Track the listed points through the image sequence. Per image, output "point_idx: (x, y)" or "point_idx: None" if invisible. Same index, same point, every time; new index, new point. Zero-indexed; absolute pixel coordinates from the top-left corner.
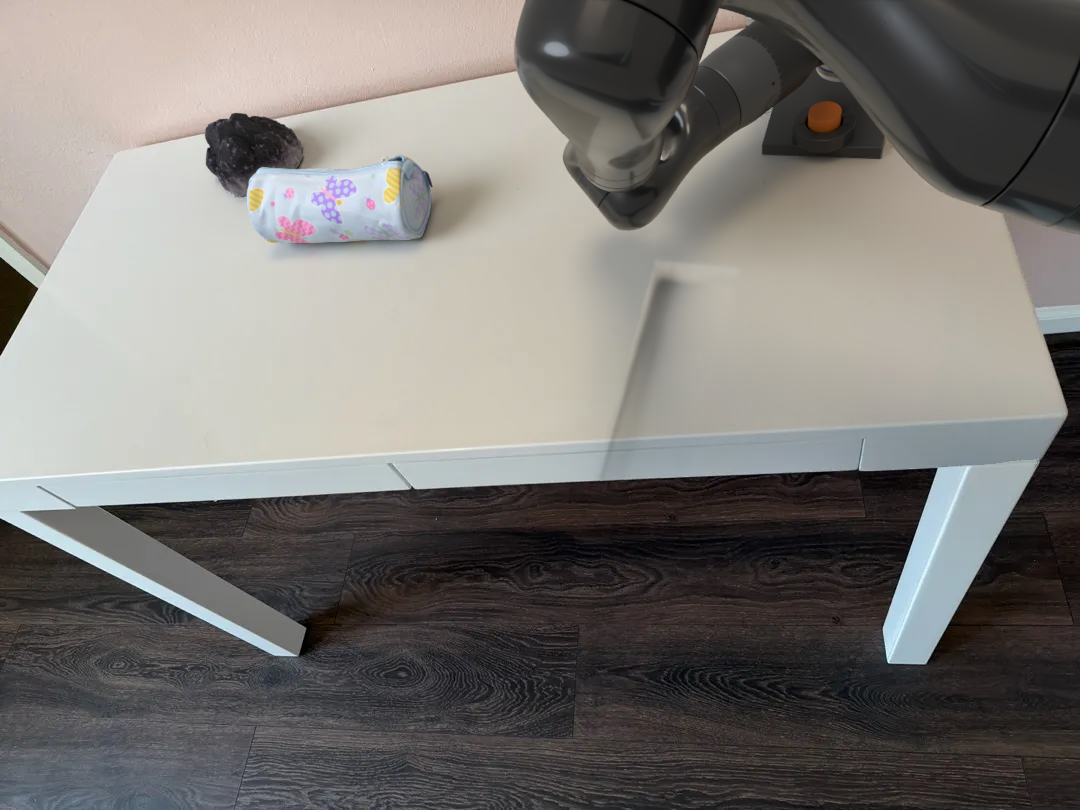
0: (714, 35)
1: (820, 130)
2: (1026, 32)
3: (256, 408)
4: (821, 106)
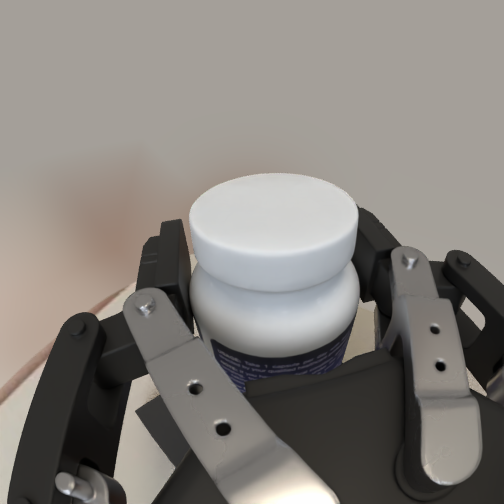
0: (11, 397)
1: None
2: None
3: None
4: None
